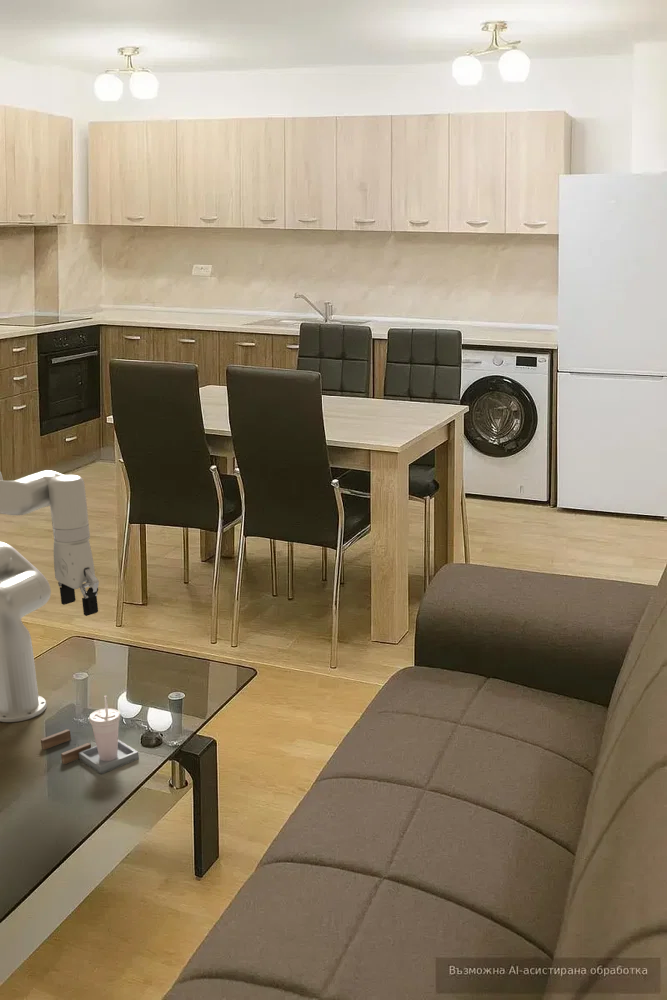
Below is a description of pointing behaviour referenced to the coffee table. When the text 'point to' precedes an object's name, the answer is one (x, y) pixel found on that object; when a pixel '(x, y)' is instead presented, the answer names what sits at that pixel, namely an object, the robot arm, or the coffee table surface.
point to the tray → (93, 760)
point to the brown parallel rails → (62, 738)
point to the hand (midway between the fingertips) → (79, 608)
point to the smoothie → (106, 731)
